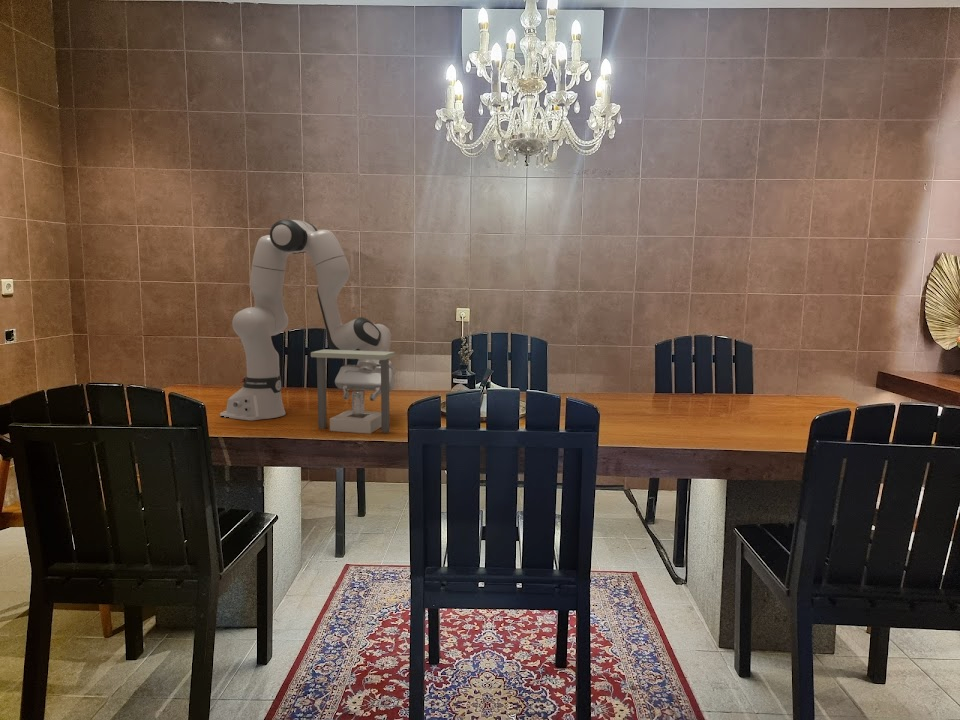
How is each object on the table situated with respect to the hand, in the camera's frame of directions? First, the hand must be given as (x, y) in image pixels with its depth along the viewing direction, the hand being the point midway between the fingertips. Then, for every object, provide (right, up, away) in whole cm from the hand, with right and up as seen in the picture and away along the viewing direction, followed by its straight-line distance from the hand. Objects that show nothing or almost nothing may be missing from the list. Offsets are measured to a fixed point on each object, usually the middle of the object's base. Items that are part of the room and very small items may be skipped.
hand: (358, 399), depth 213 cm
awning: (-1, -10, -3) cm, 10 cm away
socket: (0, -9, 0) cm, 9 cm away
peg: (0, -9, 0) cm, 9 cm away
